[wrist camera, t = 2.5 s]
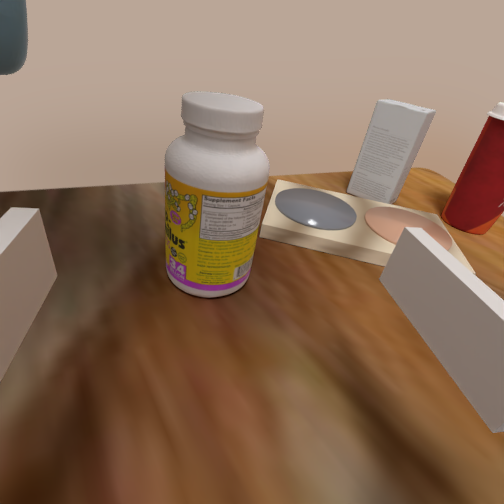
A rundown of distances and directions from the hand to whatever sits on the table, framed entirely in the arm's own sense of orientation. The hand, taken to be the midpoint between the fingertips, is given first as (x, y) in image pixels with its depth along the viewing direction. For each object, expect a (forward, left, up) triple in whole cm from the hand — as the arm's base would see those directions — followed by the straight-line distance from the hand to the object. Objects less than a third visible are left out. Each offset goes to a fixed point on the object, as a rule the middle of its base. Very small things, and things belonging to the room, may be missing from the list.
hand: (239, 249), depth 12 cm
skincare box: (+13, +33, -10) cm, 37 cm away
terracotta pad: (+14, +22, -8) cm, 28 cm away
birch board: (+10, +22, -10) cm, 26 cm away
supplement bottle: (-4, +9, -10) cm, 14 cm away
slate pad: (+4, +22, -8) cm, 24 cm away
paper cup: (+24, +31, -10) cm, 41 cm away
